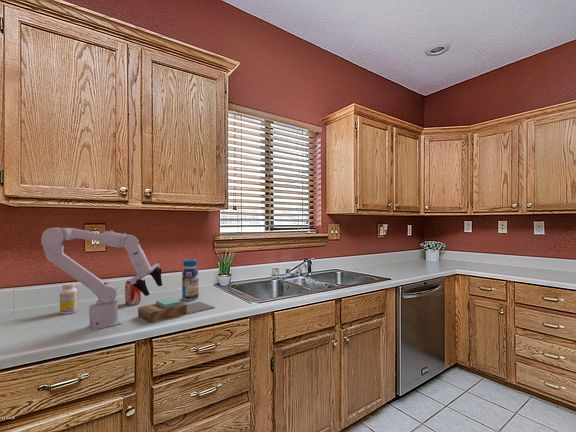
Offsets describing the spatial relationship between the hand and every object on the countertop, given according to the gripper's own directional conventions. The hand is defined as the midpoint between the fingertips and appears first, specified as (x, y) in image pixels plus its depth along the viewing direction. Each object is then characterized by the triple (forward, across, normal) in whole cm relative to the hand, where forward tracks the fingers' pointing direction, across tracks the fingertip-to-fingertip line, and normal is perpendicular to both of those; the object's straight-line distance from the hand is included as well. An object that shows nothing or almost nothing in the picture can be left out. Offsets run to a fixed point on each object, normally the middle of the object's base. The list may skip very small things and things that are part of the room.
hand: (154, 290), depth 132 cm
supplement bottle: (-2, -11, +43) cm, 44 cm away
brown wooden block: (+12, -1, +1) cm, 12 cm away
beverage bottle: (+18, +25, +10) cm, 32 cm away
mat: (+17, +12, -4) cm, 22 cm away
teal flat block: (+9, +3, 0) cm, 9 cm away
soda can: (+8, +8, +29) cm, 31 cm away
